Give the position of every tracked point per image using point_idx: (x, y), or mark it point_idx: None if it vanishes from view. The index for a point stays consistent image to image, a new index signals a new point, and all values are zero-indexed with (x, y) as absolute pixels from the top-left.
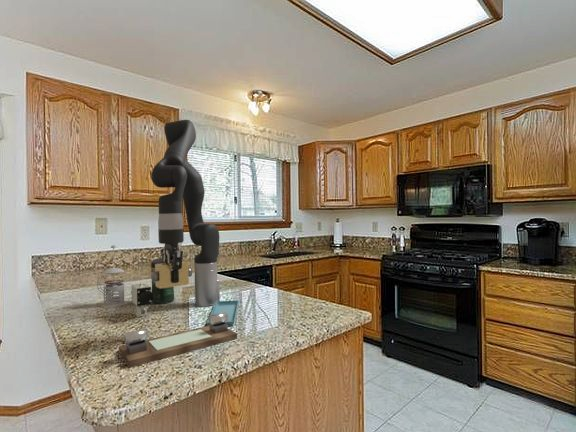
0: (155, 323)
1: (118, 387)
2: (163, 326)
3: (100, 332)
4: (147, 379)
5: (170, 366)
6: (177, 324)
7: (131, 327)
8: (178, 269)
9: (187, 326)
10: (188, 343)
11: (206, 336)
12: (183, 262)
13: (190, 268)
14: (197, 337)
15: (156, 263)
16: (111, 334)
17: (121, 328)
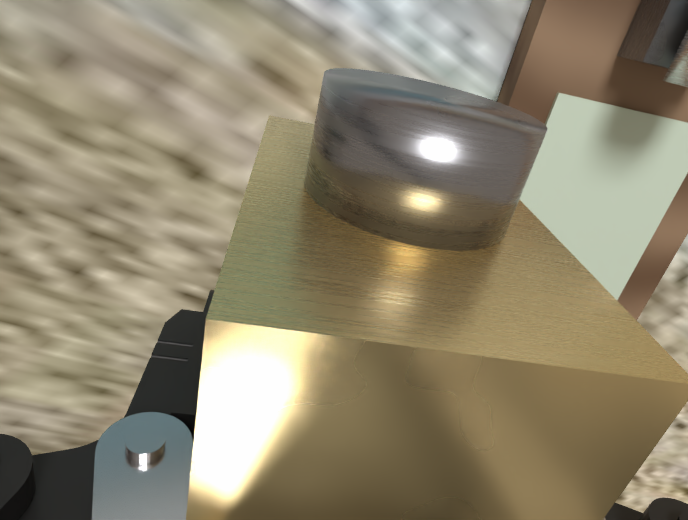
0: (92, 153)
1: (634, 480)
2: (200, 150)
3: (60, 394)
4: (675, 428)
5: (679, 357)
6: (230, 64)
7: (77, 278)
8: (623, 515)
9: (329, 42)
10: (645, 254)
11: (681, 148)
12: (537, 453)
13: (522, 155)
14: (642, 189)
15: None
16: (133, 373)
17: (59, 316)
